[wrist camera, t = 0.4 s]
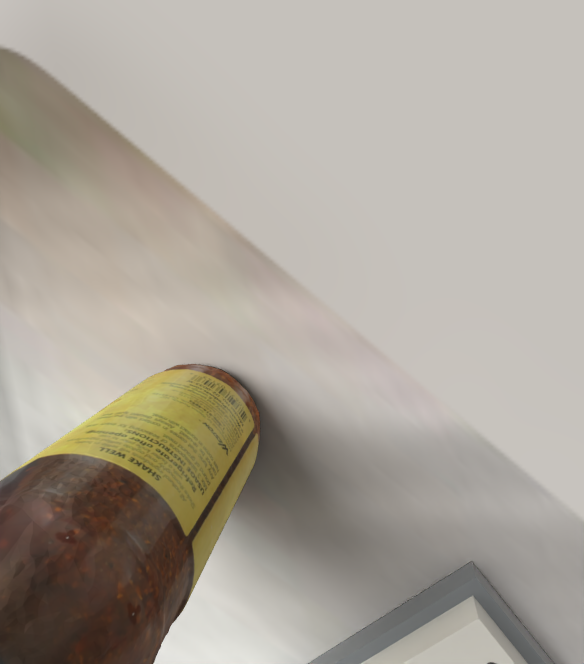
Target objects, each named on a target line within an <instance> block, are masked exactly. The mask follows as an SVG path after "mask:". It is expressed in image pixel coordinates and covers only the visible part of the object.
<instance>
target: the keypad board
mask: <svg viewBox="0 0 584 664" xmlns="http://www.w3.org/2000/svg"><path fill="white" fill-rule="evenodd" d="M489 662H494V663H496V664H554V663H553V662H552V660H551V659H550V658H549V657H548V655H547V654H546V653H545V652H544V650H543V649H542V648H541V647H540V646H539V644H538V643H537V642H536V641H535V639H534V638H533V637H532V636H531V634H530V633H529V632H528V631H527V629H526V628H525V627H524V626H523V624H522V623H521V622H520V621H519V619H518V618H517V617H516V616H515V615H514V613H513V612H512V611H511V610H510V608H509V607H508V606H507V605H506V603H505V602H504V601H503V600H502V598H501V597H500V596H499V595H498V593H497V592H496V591H495V590H494V589H493V587H492V586H491V585H490V584H489V582H488V581H487V580H486V579H485V577H484V576H483V575H482V574H481V572H480V571H479V570H478V569H477V567H476V566H475V565H474V564H473V563H472V561H471V562H470V563H468V564H467V565H465V566H463V567H462V568H460V569H459V570H457V571H455V572H454V573H452V574H451V575H449V576H447V577H446V578H444V579H443V580H441V581H439V582H438V583H436V584H435V585H433V586H431V587H430V588H428V589H427V590H425V591H423V592H422V593H420V594H419V595H417V596H415V597H414V598H412V599H411V600H409V601H407V602H406V603H404V604H403V605H401V606H399V607H398V608H396V609H395V610H393V611H391V612H390V613H388V614H387V615H385V616H383V617H382V618H380V619H379V620H377V621H375V622H374V623H372V624H371V625H369V626H367V627H366V628H364V629H363V630H361V631H359V632H358V633H356V634H355V635H353V636H351V637H350V638H348V639H347V640H345V641H343V642H342V643H340V644H339V645H337V646H335V647H334V648H332V649H331V650H329V651H327V652H326V653H324V654H323V655H321V656H319V657H318V658H316V659H315V660H313V661H311V662H310V663H308V664H487V663H489Z"/></svg>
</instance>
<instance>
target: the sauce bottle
mask: <svg viewBox="0 0 584 664" xmlns="http://www.w3.org/2000/svg"><path fill="white" fill-rule="evenodd" d="M259 435H260V418H259V412H258V410H257V408H256V405H255V403H254V401H253V399H252V397H251V396H250V395H249V393H248V391H247V390H246V389H244V388H243V387H242V386H241V384H239V383H238V381H236V379H235V378H233V377H232V376H230V375H229V374H228V373H226V372H224V371H223V370H221V369H216V368H214V367H212V366H204V365H200V364H199V365H197V364H188V365H177V366H174V367H172V368H169V369H167V370H165V371H164V372H161V373H158V374H155V375H153V376H151V377H149V378H147V379H146V380H144V381H143V382H141V383H140V384H138V385H137V386H135V387H134V388H132V389H131V390H129V391H128V392H126V393H125V394H123V395H122V396H121V397H119V398H118V399H116V400H115V401H114V402H112V403H111V404H109V405H108V406H106V407H105V408H104V409H102V410H101V411H99V412H98V413H97V414H95V415H94V416H92V417H91V418H89V419H88V420H86V421H85V422H83V423H82V424H81V425H79V426H78V427H76V428H75V429H73V430H72V431H70V432H69V433H68V434H66V435H65V436H63V437H62V438H60V439H59V440H58V441H56V442H55V443H53V444H52V445H50V446H49V447H47V448H46V449H45V450H43V451H42V452H40V453H39V454H37V455H36V456H35V457H33V458H32V459H30V460H29V461H27V462H26V463H25V464H23V465H22V466H20V467H19V468H17V469H16V470H15V471H13V472H12V473H10V474H9V475H8V476H6V477H5V478H4V479H2V480H1V481H0V664H153V663H154V661H155V657H156V655H157V653H158V650H159V649H160V647H161V644H162V642H163V640H164V638H165V636H166V635H167V633H168V631H169V628H170V626H171V625H172V623H173V622H174V621H175V620H176V619H177V617H178V616H179V615H180V613H181V612H182V611H183V609H184V607H185V605H186V603H187V601H188V599H189V597H190V595H191V593H192V591H193V589H194V587H195V585H196V583H197V581H198V579H199V577H200V575H201V573H202V571H203V569H204V567H205V565H206V562H207V560H208V558H209V556H210V554H211V552H212V550H213V548H214V546H215V544H216V542H217V540H218V538H219V536H220V534H221V532H222V530H223V527H224V525H225V523H226V521H227V519H228V517H229V515H230V513H231V511H232V509H233V507H234V505H235V503H236V501H237V499H238V497H239V495H240V493H241V491H242V489H243V487H244V485H245V483H246V481H247V479H248V477H249V475H250V473H251V470H252V468H253V466H254V463H255V460H256V456H257V451H258V445H259Z"/></svg>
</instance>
